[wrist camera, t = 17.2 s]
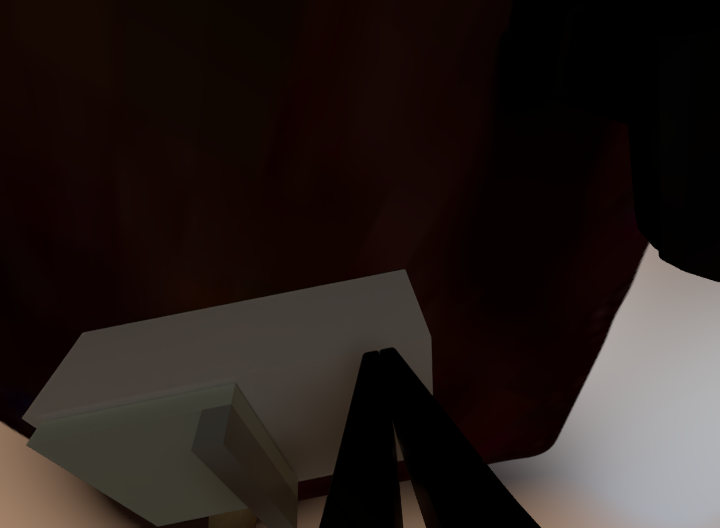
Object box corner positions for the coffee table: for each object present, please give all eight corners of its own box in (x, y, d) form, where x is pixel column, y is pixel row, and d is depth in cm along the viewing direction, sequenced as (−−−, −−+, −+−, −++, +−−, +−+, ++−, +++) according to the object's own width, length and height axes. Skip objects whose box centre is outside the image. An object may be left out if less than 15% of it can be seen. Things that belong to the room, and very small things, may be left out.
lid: (235, 383, 18) (223, 444, 15) (297, 479, 26) (296, 530, 23) (41, 422, 18) (-4, 489, 15) (163, 507, 26) (147, 561, 23)
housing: (404, 269, 23) (431, 336, 18) (415, 386, 31) (434, 453, 26) (82, 332, 22) (21, 418, 18) (180, 433, 31) (157, 510, 26)
